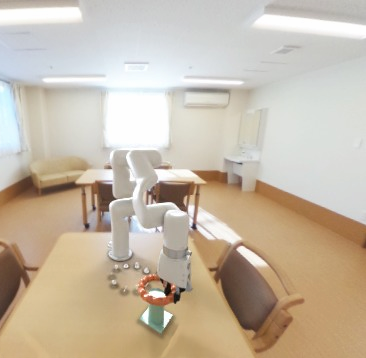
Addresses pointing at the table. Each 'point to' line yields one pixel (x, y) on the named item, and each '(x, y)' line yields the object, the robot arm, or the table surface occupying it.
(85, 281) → the table surface
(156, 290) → the mint knob on plate
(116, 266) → the game piece set
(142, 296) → the ring
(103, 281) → the table surface
